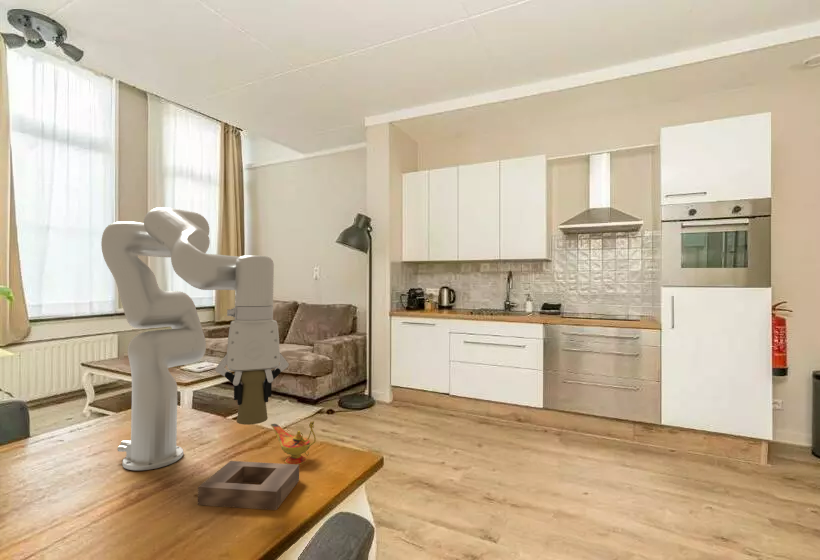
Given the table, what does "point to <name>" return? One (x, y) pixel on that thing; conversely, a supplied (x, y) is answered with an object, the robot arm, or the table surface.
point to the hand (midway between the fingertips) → (252, 400)
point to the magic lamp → (294, 444)
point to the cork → (252, 398)
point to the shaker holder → (249, 485)
